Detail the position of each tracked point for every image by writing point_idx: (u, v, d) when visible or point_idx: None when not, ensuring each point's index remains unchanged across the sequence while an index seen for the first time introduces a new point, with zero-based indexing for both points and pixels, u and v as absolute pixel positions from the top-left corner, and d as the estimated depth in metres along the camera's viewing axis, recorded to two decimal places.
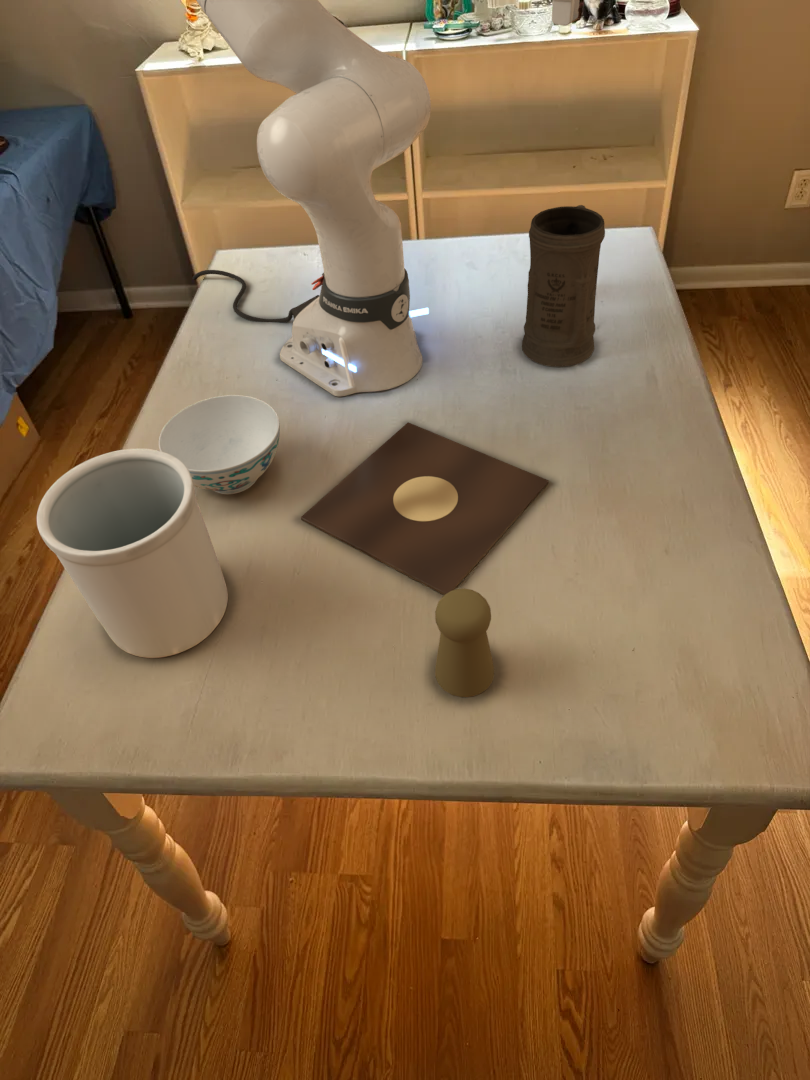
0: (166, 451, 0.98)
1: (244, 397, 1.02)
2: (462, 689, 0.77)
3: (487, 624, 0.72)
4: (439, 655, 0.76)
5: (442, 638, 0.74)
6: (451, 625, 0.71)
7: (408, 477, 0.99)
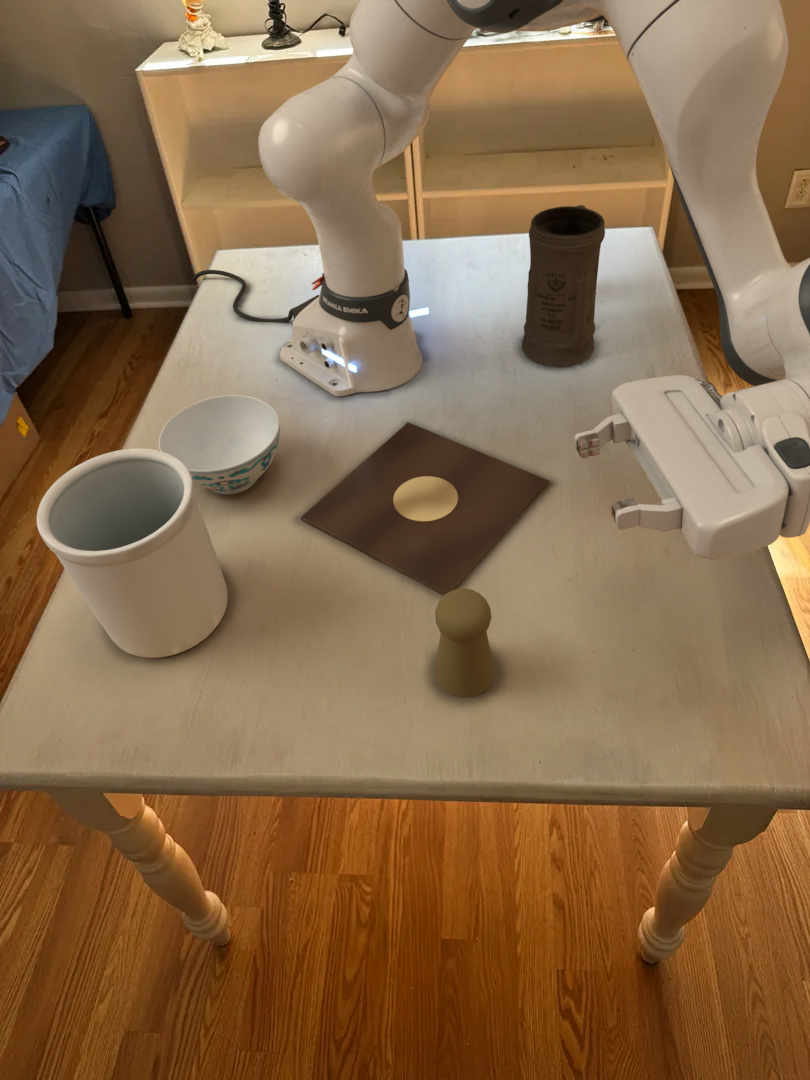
0: (166, 451, 0.98)
1: (244, 397, 1.02)
2: (462, 689, 0.77)
3: (487, 624, 0.72)
4: (439, 655, 0.76)
5: (442, 638, 0.74)
6: (451, 625, 0.71)
7: (408, 477, 0.99)
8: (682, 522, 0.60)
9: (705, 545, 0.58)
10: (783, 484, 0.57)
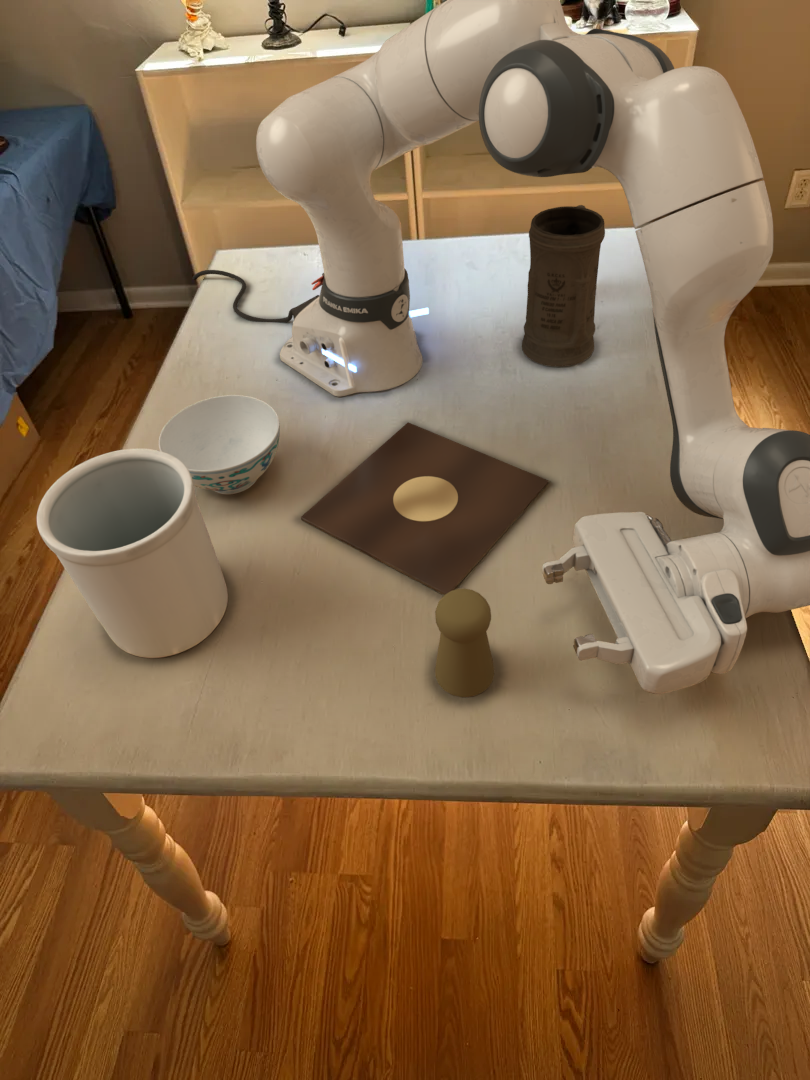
0: (166, 451, 0.98)
1: (244, 397, 1.02)
2: (462, 689, 0.77)
3: (487, 624, 0.72)
4: (439, 655, 0.76)
5: (442, 638, 0.74)
6: (451, 625, 0.71)
7: (408, 477, 0.99)
8: (632, 659, 0.71)
9: (651, 683, 0.69)
10: (717, 636, 0.69)
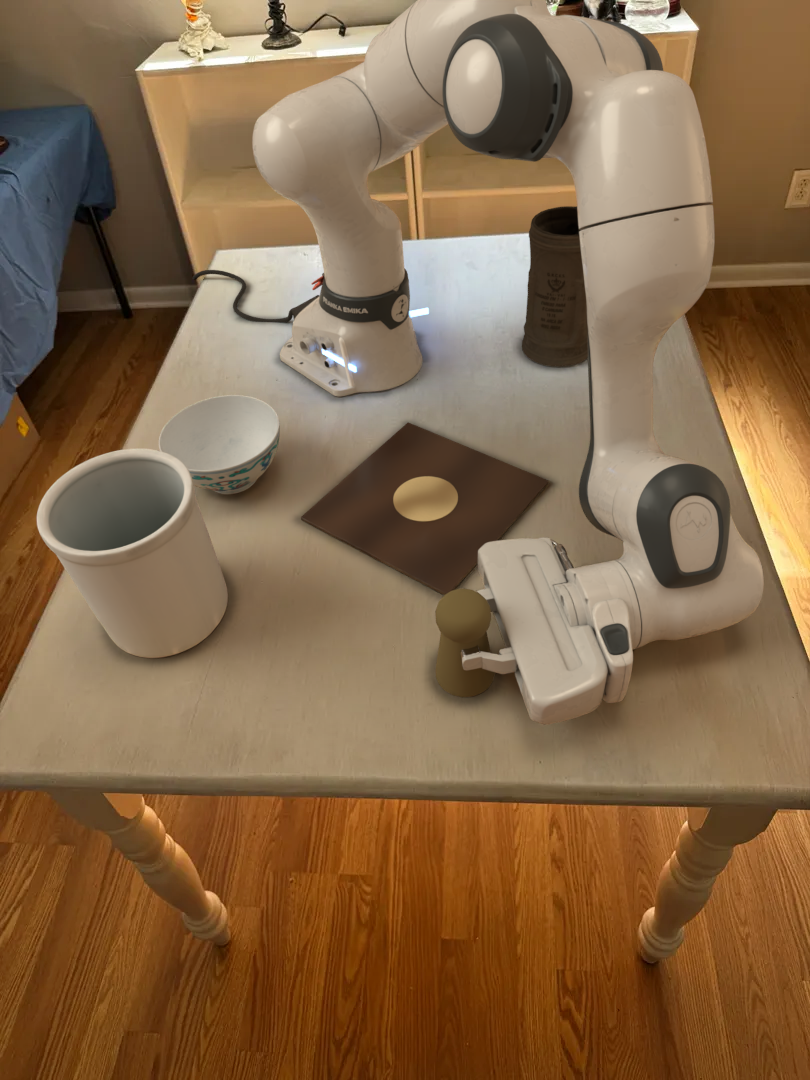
0: (166, 451, 0.98)
1: (244, 397, 1.02)
2: (462, 689, 0.77)
3: (487, 624, 0.72)
4: (439, 655, 0.76)
5: (442, 638, 0.74)
6: (451, 625, 0.71)
7: (408, 477, 0.99)
8: (522, 689, 0.71)
9: (537, 714, 0.69)
10: (603, 667, 0.69)
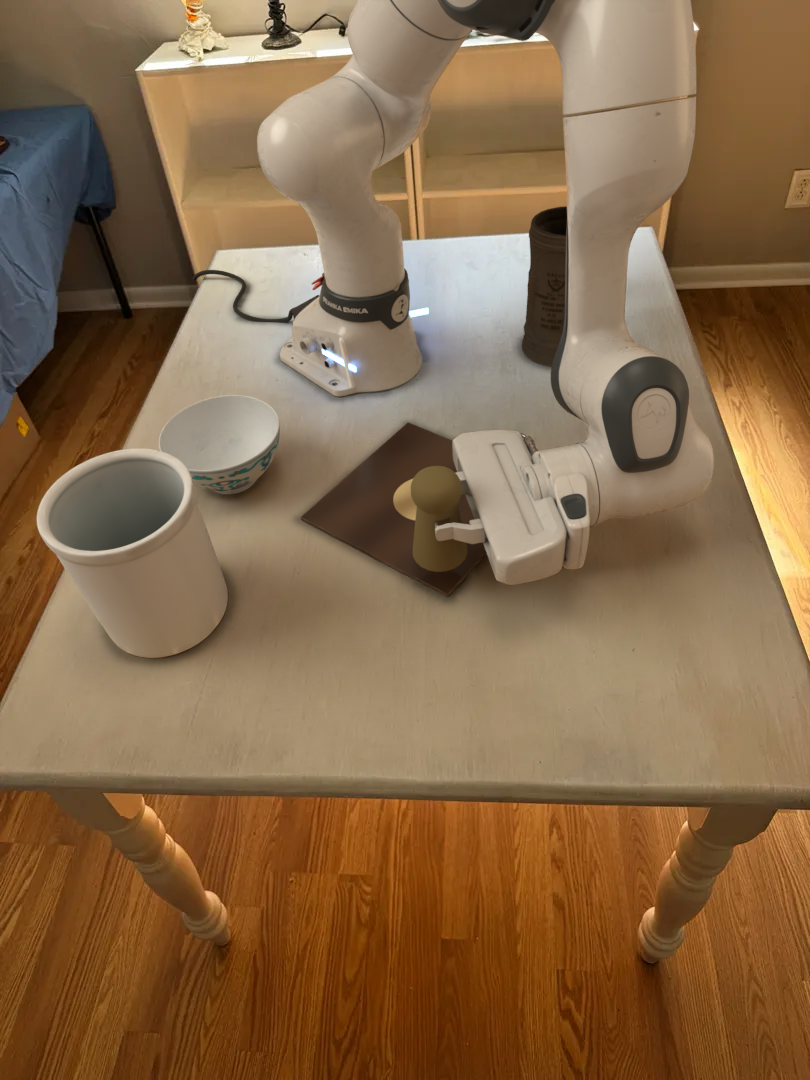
0: (166, 451, 0.98)
1: (244, 397, 1.02)
2: (437, 563, 0.83)
3: (458, 495, 0.78)
4: (415, 531, 0.83)
5: (417, 513, 0.81)
6: (424, 495, 0.77)
7: (408, 477, 0.99)
8: (489, 554, 0.77)
9: (502, 573, 0.75)
10: (562, 530, 0.75)
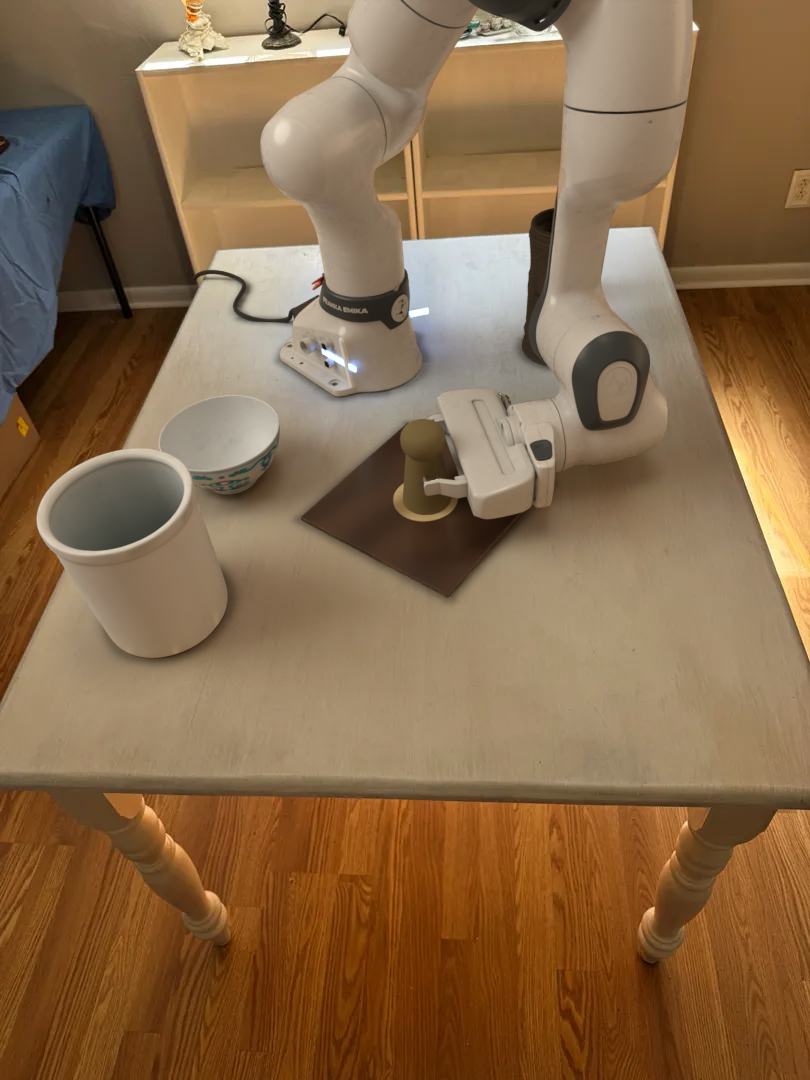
0: (166, 451, 0.98)
1: (244, 397, 1.02)
2: (424, 507, 0.94)
3: (442, 444, 0.89)
4: (405, 479, 0.93)
5: (406, 461, 0.91)
6: (412, 443, 0.88)
7: None
8: (467, 492, 0.88)
9: (478, 508, 0.86)
10: (531, 470, 0.86)
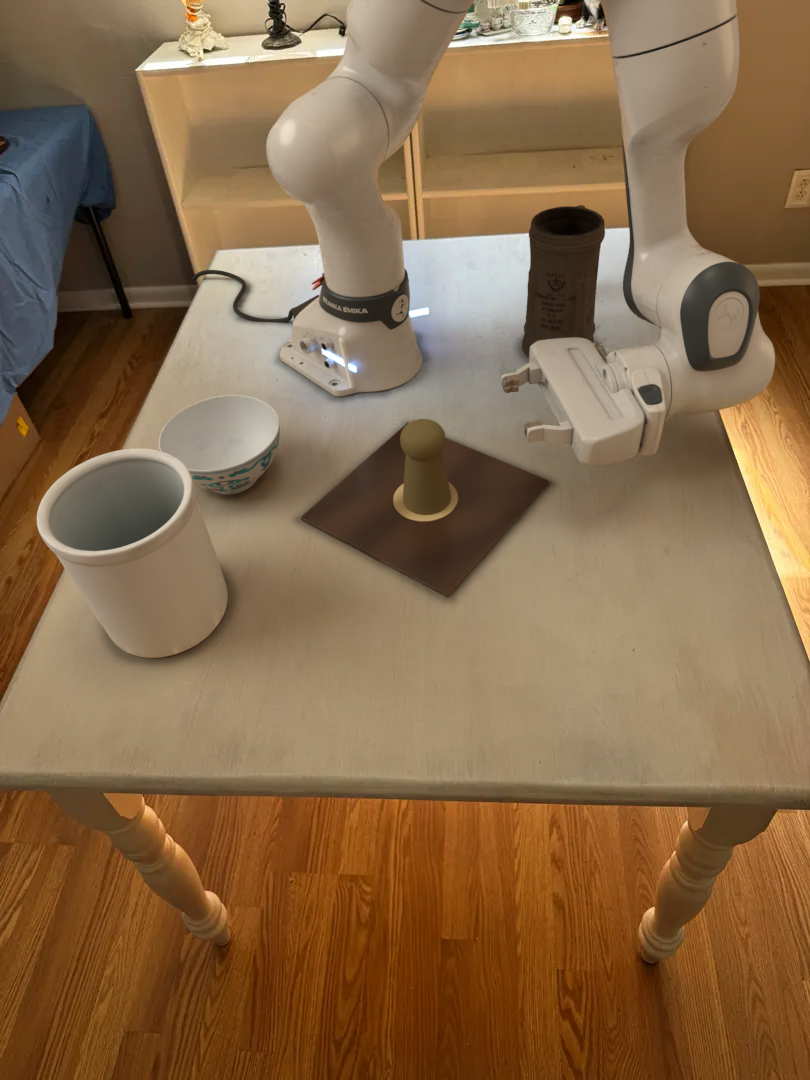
0: (166, 451, 0.98)
1: (244, 397, 1.02)
2: (424, 507, 0.94)
3: (442, 444, 0.89)
4: (405, 479, 0.93)
5: (406, 461, 0.91)
6: (412, 443, 0.88)
7: None
8: (572, 439, 0.85)
9: (586, 453, 0.83)
10: (641, 415, 0.83)
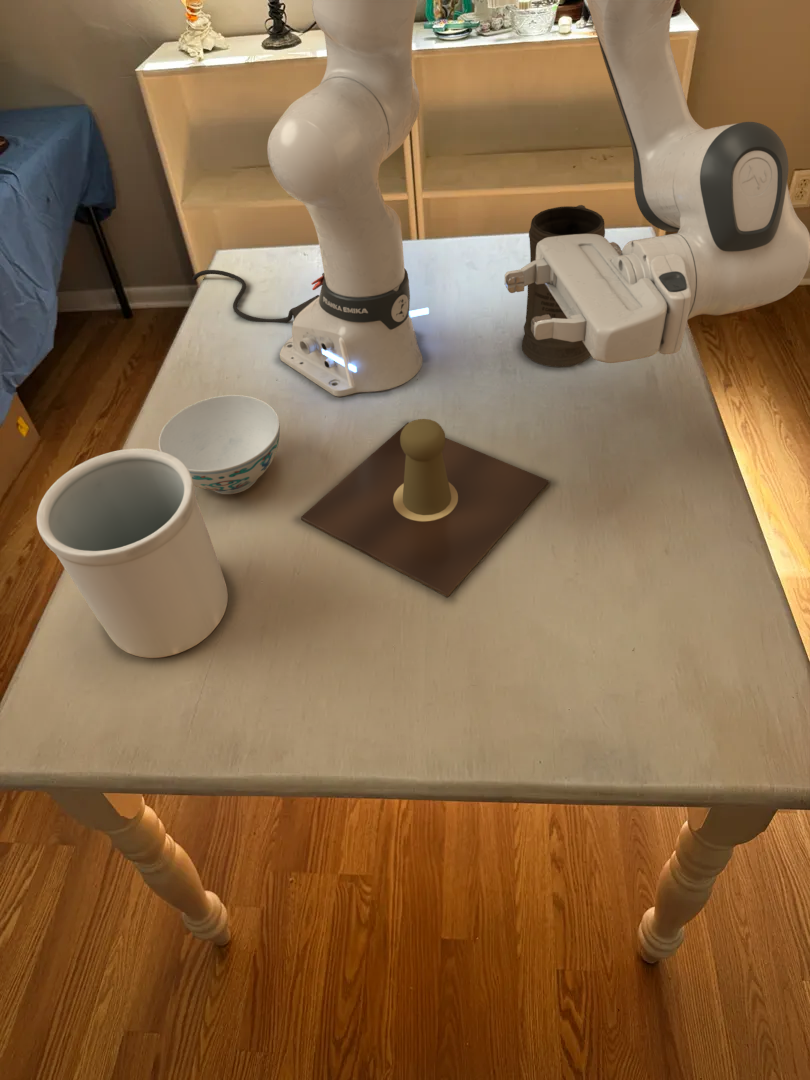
0: (166, 451, 0.98)
1: (244, 397, 1.02)
2: (424, 507, 0.94)
3: (442, 444, 0.89)
4: (405, 479, 0.93)
5: (406, 461, 0.91)
6: (412, 443, 0.88)
7: None
8: (585, 334, 0.76)
9: (601, 347, 0.73)
10: (663, 303, 0.73)
